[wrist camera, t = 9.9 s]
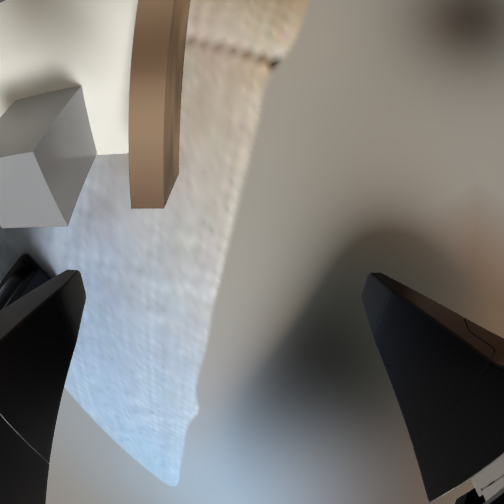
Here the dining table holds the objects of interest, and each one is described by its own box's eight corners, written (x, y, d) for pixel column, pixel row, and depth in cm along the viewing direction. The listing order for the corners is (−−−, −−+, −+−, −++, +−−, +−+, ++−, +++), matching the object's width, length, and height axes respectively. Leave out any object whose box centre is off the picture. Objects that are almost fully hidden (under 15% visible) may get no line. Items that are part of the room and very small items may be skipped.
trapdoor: (154, 130, 19) (147, 152, 17) (17, 145, 17) (3, 165, 16) (154, -69, 7) (142, -73, 6) (-21, -11, 5) (-45, 0, 4)
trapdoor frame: (178, 173, 19) (161, 214, 13) (-4, 184, 17) (-60, 222, 10) (195, -34, 12) (188, -89, 6) (0, 10, 10) (-57, 0, 3)
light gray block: (97, 152, 17) (67, 226, 13) (36, 159, 16) (1, 228, 13) (81, 85, 12) (33, 151, 9) (15, 100, 12) (-37, 166, 9)
